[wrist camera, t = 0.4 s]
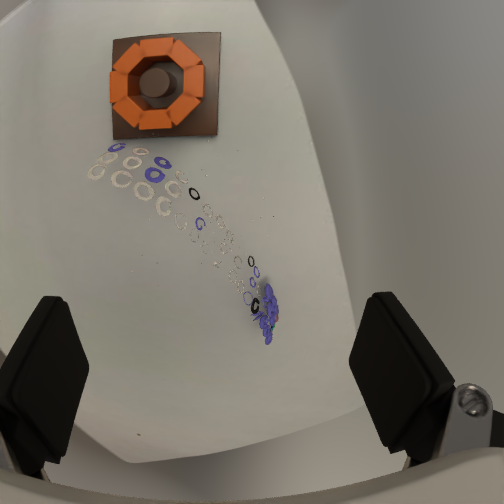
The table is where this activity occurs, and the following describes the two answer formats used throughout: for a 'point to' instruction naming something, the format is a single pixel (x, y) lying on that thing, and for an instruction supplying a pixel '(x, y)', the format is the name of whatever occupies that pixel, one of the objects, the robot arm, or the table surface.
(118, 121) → the rack
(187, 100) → the orange octagonal tube
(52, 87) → the table surface
